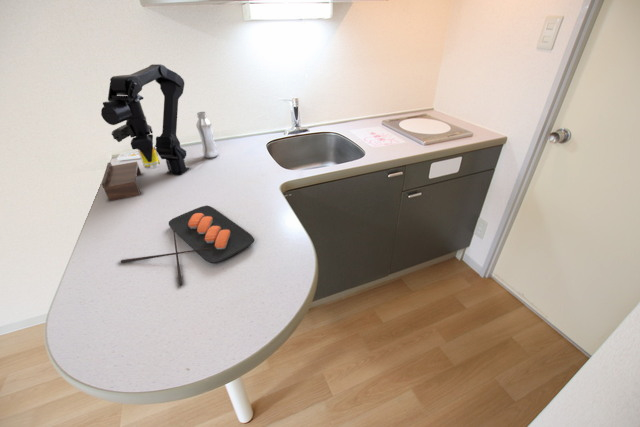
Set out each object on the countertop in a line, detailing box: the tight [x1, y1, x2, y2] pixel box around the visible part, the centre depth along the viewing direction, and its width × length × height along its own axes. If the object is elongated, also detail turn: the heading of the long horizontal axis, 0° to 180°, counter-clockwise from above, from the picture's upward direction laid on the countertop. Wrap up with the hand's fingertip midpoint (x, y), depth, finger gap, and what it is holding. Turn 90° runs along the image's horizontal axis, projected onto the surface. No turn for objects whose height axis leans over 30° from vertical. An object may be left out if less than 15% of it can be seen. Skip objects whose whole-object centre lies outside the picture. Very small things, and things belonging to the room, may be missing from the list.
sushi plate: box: [120, 205, 255, 286], centre depth 87 cm, size 29×30×4 cm
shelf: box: [101, 161, 143, 202], centre depth 119 cm, size 20×10×7 cm, turn 25°
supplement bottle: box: [137, 143, 161, 170], centre depth 113 cm, size 6×6×10 cm
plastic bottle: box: [196, 111, 219, 158], centre depth 138 cm, size 6×7×20 cm
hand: (149, 158), depth 114 cm, fingers closed on supplement bottle, 5 cm apart
